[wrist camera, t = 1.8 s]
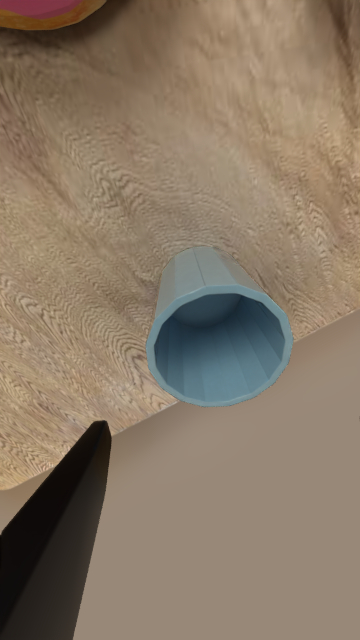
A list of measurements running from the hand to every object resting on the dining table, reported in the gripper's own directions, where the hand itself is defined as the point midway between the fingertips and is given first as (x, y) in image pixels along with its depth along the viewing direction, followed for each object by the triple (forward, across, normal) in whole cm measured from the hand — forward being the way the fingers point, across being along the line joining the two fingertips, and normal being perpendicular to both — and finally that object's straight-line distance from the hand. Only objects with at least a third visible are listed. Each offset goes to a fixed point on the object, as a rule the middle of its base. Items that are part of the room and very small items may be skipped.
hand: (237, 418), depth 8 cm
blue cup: (+13, 0, 0) cm, 13 cm away
